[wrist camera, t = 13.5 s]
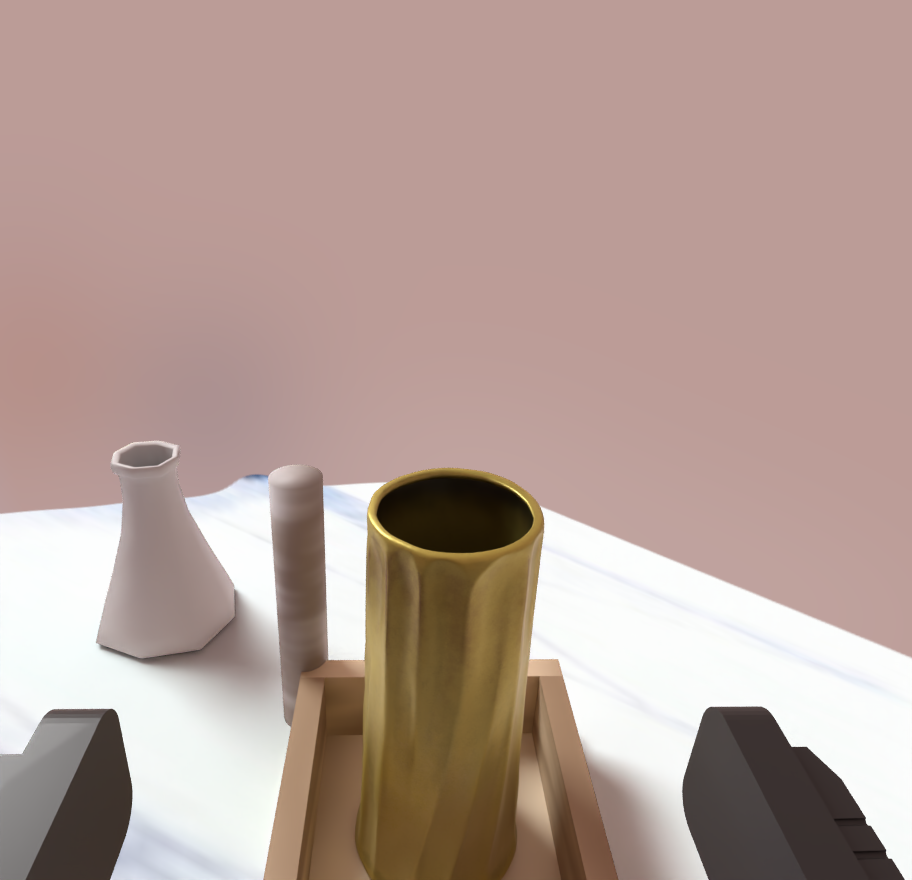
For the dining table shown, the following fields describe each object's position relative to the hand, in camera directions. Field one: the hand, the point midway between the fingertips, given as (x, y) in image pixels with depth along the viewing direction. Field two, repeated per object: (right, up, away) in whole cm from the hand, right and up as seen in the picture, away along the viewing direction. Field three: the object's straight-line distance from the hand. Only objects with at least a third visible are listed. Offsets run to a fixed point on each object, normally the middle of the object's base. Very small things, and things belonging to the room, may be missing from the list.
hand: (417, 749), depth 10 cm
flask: (-15, -6, +30) cm, 34 cm away
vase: (0, -11, +17) cm, 20 cm away
